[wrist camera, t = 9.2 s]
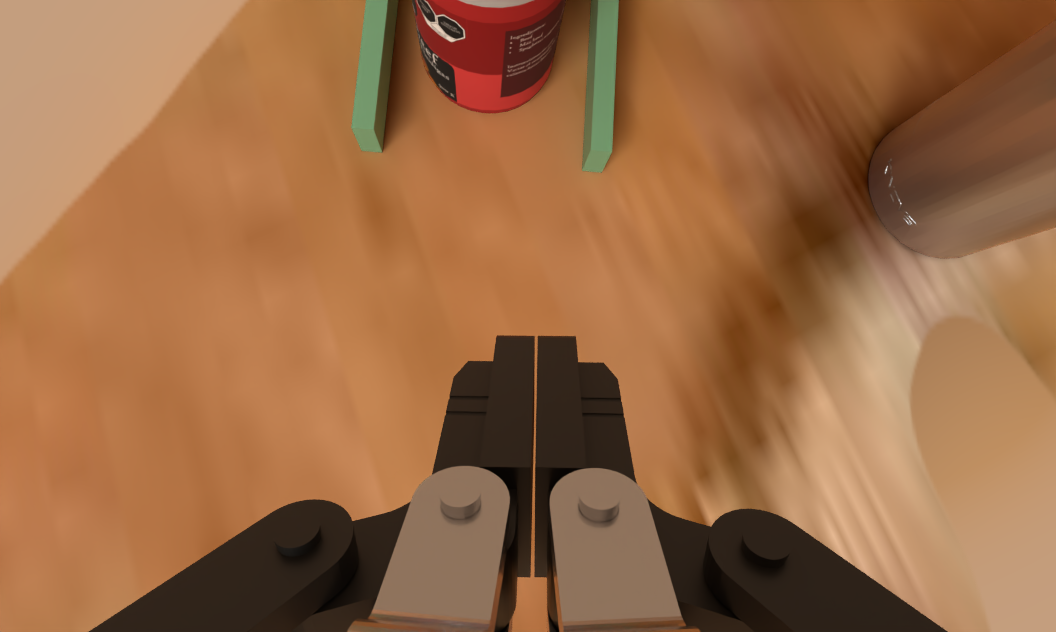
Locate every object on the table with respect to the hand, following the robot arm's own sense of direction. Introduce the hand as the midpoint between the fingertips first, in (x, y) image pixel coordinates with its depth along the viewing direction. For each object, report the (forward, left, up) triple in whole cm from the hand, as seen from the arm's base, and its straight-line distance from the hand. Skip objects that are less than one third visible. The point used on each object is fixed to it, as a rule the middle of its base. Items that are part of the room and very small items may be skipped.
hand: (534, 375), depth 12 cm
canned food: (-5, -20, -24) cm, 31 cm away
